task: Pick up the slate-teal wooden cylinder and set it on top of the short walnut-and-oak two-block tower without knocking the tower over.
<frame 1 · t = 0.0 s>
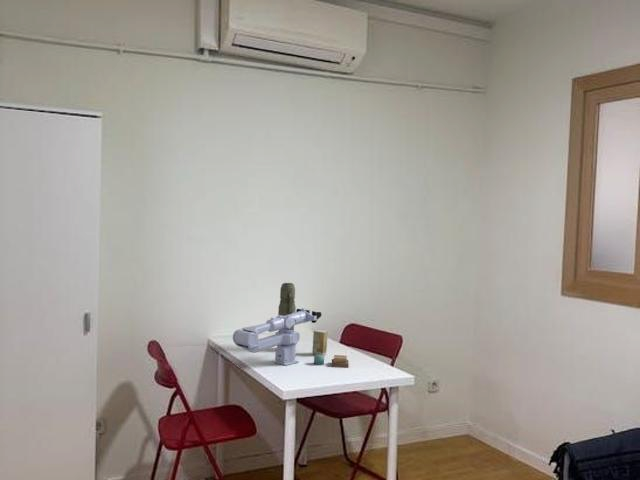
hand: (314, 313, 285), 22 cm above the table, tool horizontal, fingers open, 7 cm apart
thermos: (285, 350, 296), on the table
teal cylinder: (318, 364, 270), on the table
walnut slab: (339, 366, 270), on the table, touching oak block
oak block: (340, 361, 270), point 2 cm above the table, touching walnut slab
skincare box: (319, 355, 289), on the table
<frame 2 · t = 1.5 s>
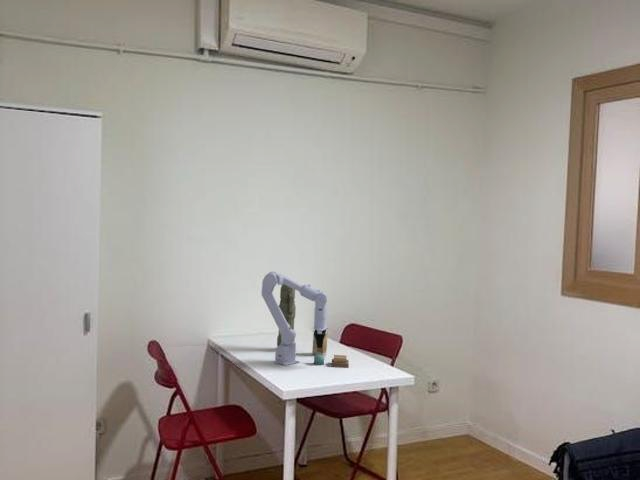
hand: (319, 346, 270), 8 cm above the table, tool pointing down, fingers open, 7 cm apart
walnut slab: (339, 366, 270), on the table
oak block: (340, 361, 270), point 2 cm above the table
everything else where it was.
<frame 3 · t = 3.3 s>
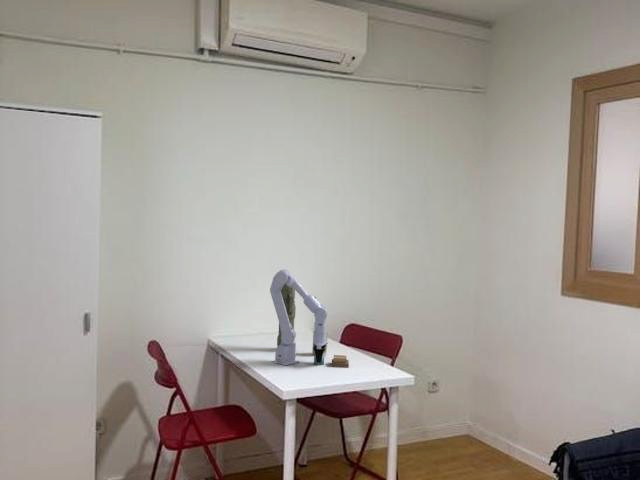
hand: (319, 361, 270), 1 cm above the table, tool pointing down, fingers closed on teal cylinder, 5 cm apart
teal cylinder: (318, 364, 270), on the table, touching gripper
walnut slab: (340, 366, 270), on the table, touching oak block
oak block: (339, 361, 270), point 2 cm above the table, touching walnut slab
everything else where it was.
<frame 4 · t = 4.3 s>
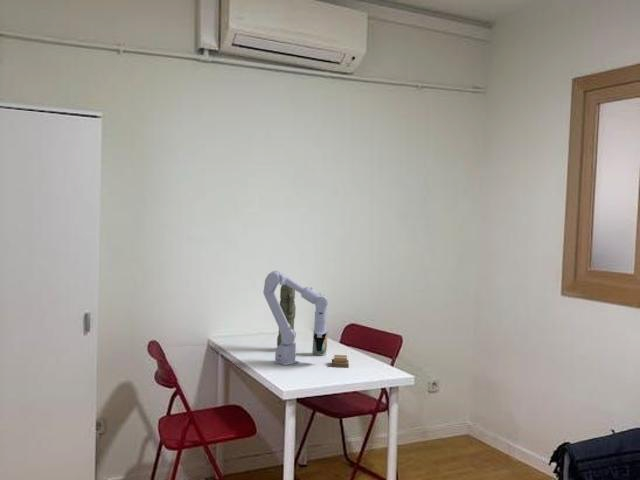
hand: (319, 349, 270), 7 cm above the table, tool pointing down, fingers closed on teal cylinder, 5 cm apart
teal cylinder: (319, 352, 270), point 5 cm above the table, touching gripper
everything else where it was.
when the fingers open (7 cm above the table, at t = 6.6 s): teal cylinder drops 1 cm, resting on oak block.
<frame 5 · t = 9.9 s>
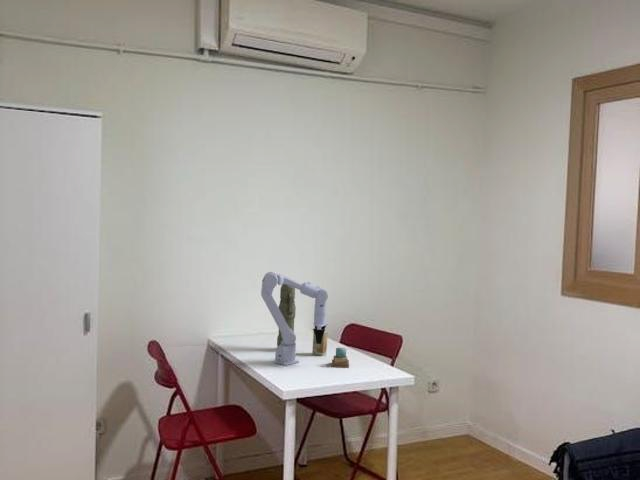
hand: (319, 342, 273), 10 cm above the table, tool pointing down, fingers open, 7 cm apart
teal cylinder: (340, 357, 269), point 4 cm above the table, touching oak block
oak block: (340, 361, 269), point 2 cm above the table, touching teal cylinder, walnut slab
everything else where it was.
at the end: teal cylinder 0.1 cm off-centre on the oak block, point 2.2 cm above the oak block's base; oak block 0.1 cm off-centre on the walnut slab, point 2.4 cm above the walnut slab's base; teal cylinder tilted 1° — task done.
